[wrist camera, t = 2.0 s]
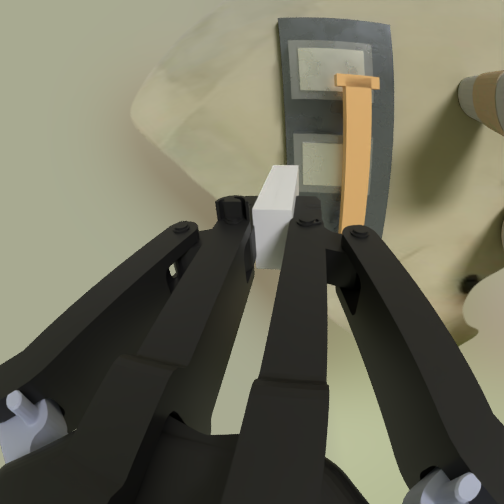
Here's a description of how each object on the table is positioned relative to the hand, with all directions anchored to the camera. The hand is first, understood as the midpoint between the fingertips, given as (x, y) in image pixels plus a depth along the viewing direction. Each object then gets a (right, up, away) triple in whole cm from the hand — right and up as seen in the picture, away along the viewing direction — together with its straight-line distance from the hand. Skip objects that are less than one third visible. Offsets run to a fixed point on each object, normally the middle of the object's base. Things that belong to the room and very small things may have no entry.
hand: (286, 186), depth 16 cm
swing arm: (+9, +4, +12) cm, 15 cm away
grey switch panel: (+8, +10, +14) cm, 19 cm away
